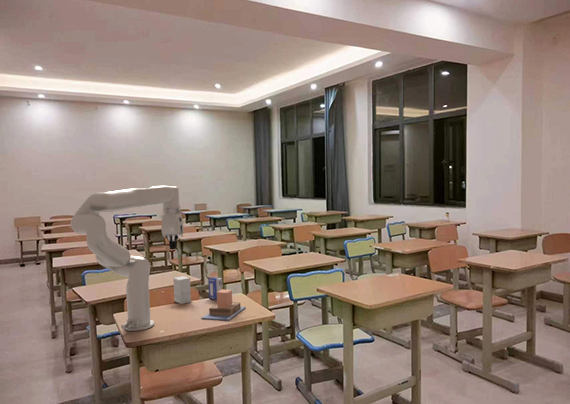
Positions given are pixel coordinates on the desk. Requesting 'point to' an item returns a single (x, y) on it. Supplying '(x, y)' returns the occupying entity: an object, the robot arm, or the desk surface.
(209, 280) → the walkman
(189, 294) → the small box
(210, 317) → the board
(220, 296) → the terracotta block
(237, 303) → the walnut base block
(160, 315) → the desk surface
